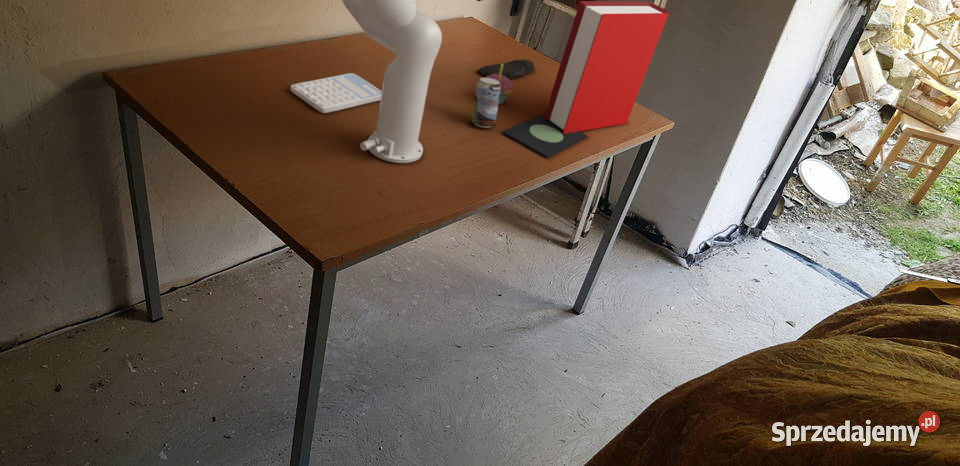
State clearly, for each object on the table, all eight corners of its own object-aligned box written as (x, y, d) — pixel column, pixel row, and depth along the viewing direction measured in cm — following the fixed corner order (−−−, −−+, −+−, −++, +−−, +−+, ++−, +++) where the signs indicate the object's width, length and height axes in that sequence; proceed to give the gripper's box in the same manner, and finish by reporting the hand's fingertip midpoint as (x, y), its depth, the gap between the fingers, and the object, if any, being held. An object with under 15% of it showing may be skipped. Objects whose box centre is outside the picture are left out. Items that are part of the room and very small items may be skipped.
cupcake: (506, 110, 189) (517, 68, 182) (476, 101, 189) (485, 59, 182) (511, 98, 196) (522, 58, 189) (482, 90, 196) (491, 49, 189)
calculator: (288, 90, 171) (288, 83, 170) (352, 77, 184) (353, 71, 183) (322, 115, 165) (322, 107, 164) (386, 99, 178) (387, 92, 177)
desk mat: (547, 158, 171) (548, 156, 171) (502, 133, 177) (502, 131, 177) (587, 137, 186) (587, 135, 185) (544, 115, 191) (545, 112, 191)
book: (563, 133, 183) (603, 13, 165) (543, 119, 187) (580, 1, 170) (629, 123, 200) (672, 13, 182) (609, 110, 204) (649, 1, 187)
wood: (492, 83, 201) (494, 73, 199) (475, 72, 205) (477, 62, 203) (543, 74, 215) (546, 65, 214) (526, 64, 219) (529, 55, 218)
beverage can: (479, 132, 175) (490, 88, 168) (463, 118, 179) (473, 75, 172) (499, 129, 178) (510, 86, 172) (482, 116, 183) (493, 73, 176)
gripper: (472, -82, 152) (458, -4, 162) (537, -56, 145) (518, 24, 155) (493, -84, 157) (478, -8, 167) (556, -59, 150) (536, 18, 160)
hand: (497, 7), depth 161 cm, fingers open, 9 cm apart
